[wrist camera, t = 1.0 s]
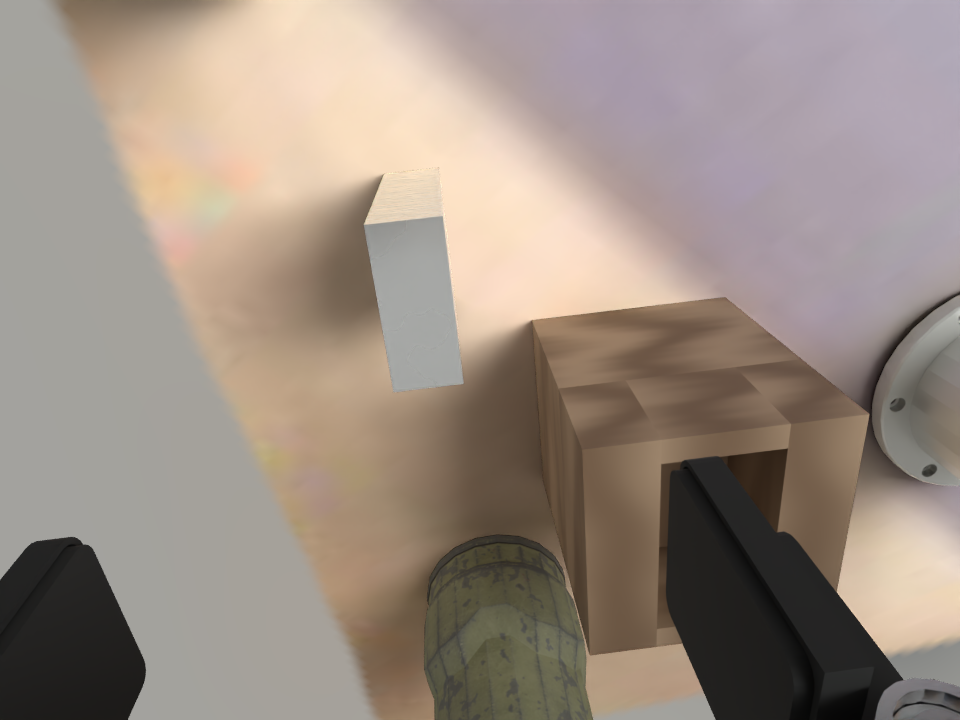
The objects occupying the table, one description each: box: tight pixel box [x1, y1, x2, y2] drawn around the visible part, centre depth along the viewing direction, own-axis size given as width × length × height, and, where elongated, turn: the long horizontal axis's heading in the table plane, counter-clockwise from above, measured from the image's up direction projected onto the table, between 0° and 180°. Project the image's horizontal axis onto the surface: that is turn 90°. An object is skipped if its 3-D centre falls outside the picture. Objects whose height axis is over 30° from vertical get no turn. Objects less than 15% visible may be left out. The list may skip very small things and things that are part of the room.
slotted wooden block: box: [532, 297, 870, 655], centre depth 30 cm, size 10×10×12 cm
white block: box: [364, 167, 464, 392], centre depth 26 cm, size 2×6×10 cm, turn 6°
